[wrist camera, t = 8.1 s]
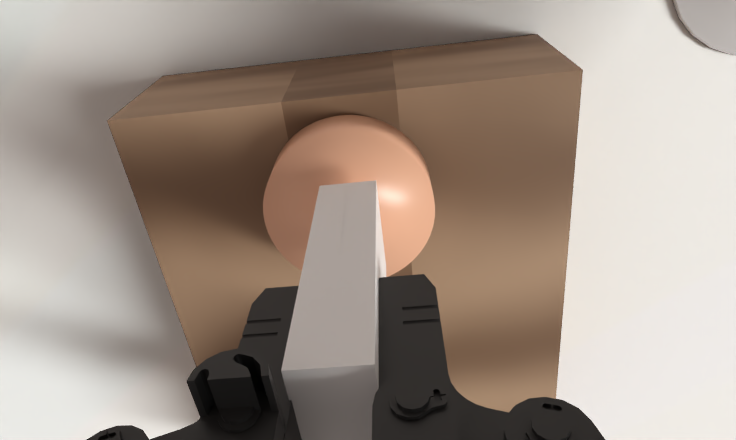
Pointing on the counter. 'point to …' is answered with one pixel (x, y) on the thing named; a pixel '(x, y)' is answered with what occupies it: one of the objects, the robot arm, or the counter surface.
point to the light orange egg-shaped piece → (347, 165)
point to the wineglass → (710, 22)
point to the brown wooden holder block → (447, 175)
